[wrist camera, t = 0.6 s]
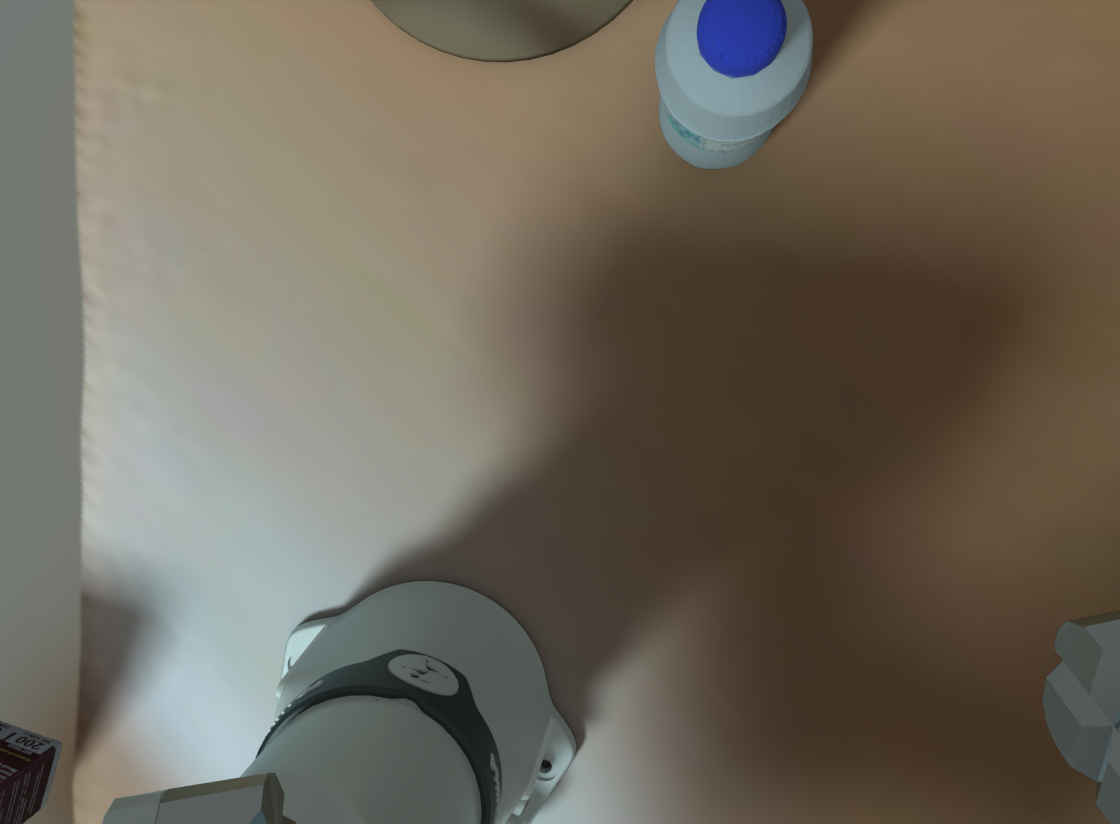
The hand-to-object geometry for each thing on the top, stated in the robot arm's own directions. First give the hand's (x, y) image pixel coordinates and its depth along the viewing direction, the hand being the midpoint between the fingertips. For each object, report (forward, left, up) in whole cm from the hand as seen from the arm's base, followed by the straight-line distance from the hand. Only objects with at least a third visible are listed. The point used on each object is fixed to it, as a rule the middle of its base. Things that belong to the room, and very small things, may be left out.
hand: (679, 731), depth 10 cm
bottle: (+15, +3, -49) cm, 51 cm away
